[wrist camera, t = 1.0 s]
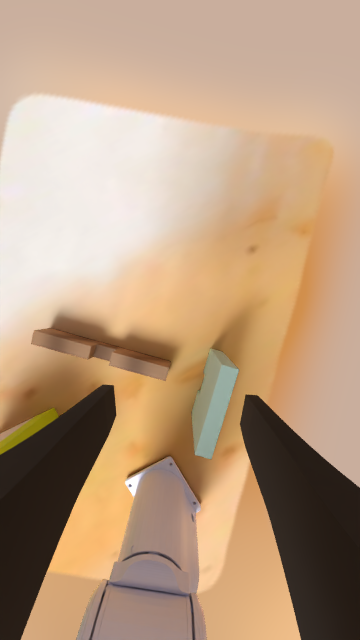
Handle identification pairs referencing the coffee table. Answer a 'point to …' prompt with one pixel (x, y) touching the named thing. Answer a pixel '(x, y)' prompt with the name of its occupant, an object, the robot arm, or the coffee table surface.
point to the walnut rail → (101, 352)
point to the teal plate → (212, 402)
